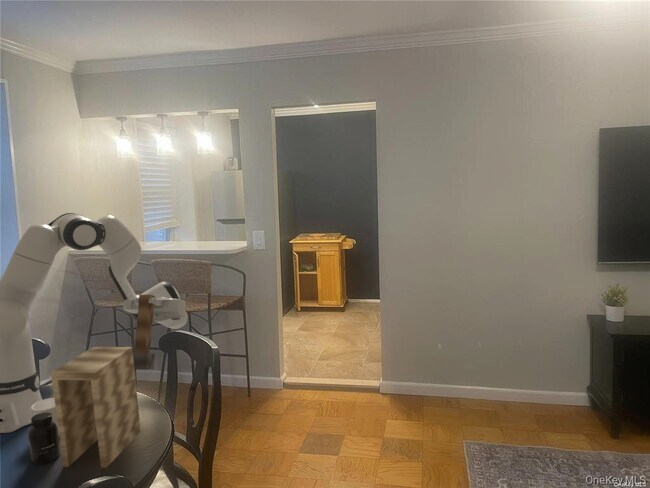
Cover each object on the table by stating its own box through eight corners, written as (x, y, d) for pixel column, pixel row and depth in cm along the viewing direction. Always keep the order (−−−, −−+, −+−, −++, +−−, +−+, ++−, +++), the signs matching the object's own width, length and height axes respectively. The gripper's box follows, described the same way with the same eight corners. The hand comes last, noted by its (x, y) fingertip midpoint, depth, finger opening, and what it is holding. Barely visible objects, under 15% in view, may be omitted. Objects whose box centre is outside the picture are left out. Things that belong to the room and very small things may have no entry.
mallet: (139, 296, 160) (132, 294, 155) (159, 295, 159) (152, 293, 154) (133, 369, 154) (125, 369, 149) (153, 369, 153) (146, 369, 149)
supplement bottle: (48, 466, 124) (42, 423, 122) (25, 464, 125) (19, 422, 123) (66, 451, 130) (61, 410, 129) (45, 449, 132) (39, 409, 130)
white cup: (52, 444, 134) (48, 411, 133) (29, 442, 136) (24, 409, 135) (72, 429, 142) (68, 398, 141) (49, 427, 144) (45, 396, 142)
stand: (102, 429, 141) (93, 346, 137) (140, 430, 140) (132, 346, 136) (63, 466, 123) (51, 372, 119) (106, 468, 122) (95, 372, 118)
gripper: (135, 301, 170) (115, 291, 157) (190, 301, 168) (174, 290, 155) (132, 319, 168) (112, 310, 155) (187, 318, 166) (171, 309, 153)
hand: (143, 300), depth 155 cm, fingers closed on mallet, 3 cm apart
